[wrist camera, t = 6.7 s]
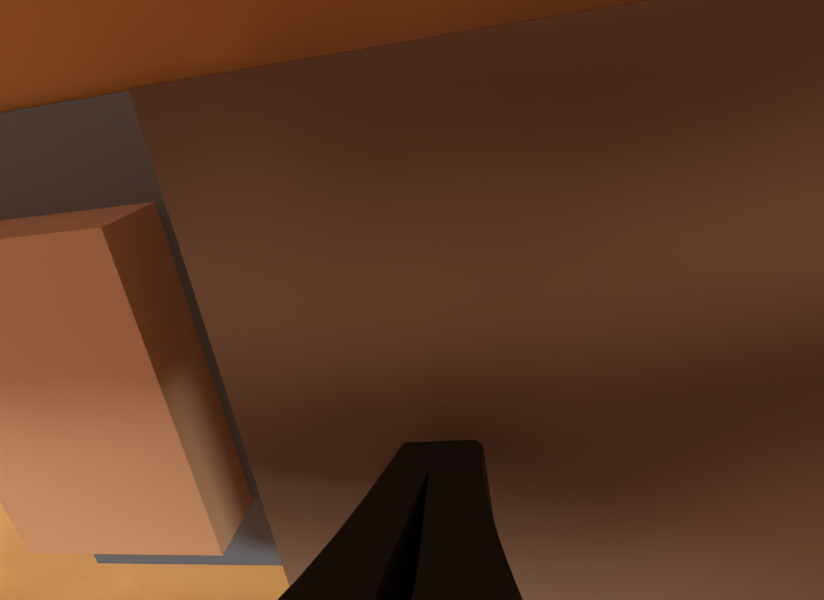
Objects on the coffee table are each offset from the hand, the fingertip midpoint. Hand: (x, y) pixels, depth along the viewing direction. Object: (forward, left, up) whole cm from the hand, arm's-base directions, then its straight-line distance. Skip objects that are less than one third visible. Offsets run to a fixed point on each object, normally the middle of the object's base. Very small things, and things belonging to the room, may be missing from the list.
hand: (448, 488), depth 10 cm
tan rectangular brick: (0, +10, -3) cm, 10 cm away
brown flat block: (0, -1, -5) cm, 5 cm away
